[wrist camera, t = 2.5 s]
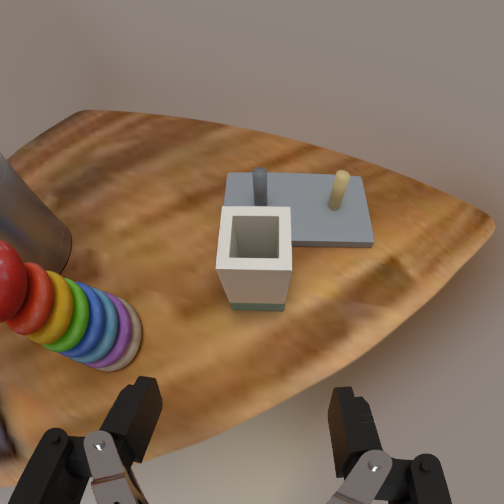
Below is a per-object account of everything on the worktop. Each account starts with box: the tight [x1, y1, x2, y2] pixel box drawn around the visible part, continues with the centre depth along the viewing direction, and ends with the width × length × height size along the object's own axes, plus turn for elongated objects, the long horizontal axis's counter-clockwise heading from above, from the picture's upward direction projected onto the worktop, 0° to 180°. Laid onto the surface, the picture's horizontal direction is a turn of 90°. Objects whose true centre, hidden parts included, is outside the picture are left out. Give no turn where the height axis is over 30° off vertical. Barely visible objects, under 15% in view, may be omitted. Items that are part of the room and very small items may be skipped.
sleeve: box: [216, 206, 292, 311], centre depth 24 cm, size 5×5×10 cm
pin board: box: [224, 167, 374, 248], centre depth 29 cm, size 16×9×6 cm, turn 88°
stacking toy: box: [0, 240, 141, 372], centre depth 18 cm, size 8×8×19 cm
